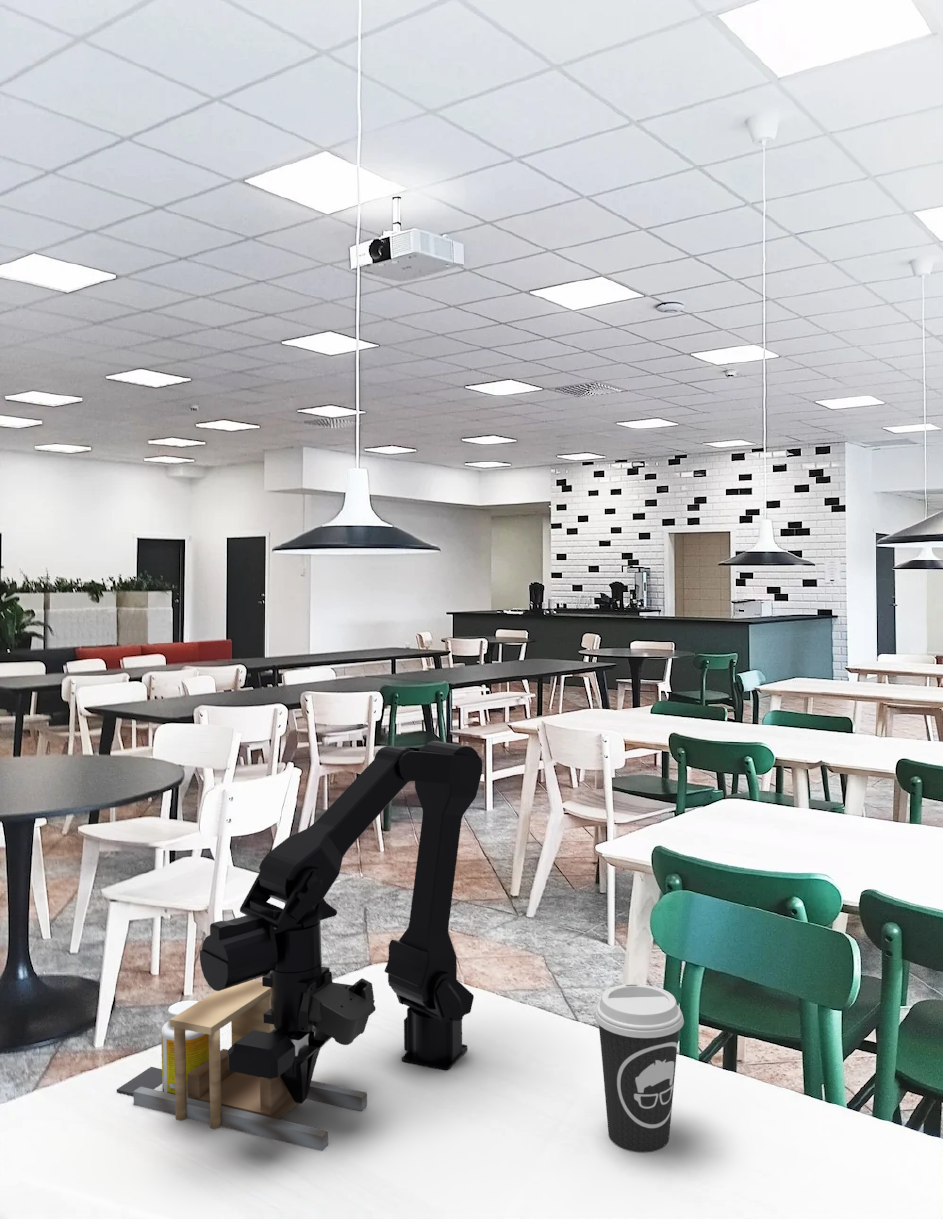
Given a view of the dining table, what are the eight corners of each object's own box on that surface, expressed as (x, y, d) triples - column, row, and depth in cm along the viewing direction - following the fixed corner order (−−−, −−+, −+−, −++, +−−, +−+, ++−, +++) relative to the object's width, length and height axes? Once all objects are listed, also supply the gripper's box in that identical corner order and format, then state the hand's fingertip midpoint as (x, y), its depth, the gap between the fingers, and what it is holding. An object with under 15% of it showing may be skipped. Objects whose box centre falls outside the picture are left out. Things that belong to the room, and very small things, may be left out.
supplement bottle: (219, 1094, 120) (218, 1008, 120) (174, 1110, 116) (172, 1021, 116) (199, 1076, 124) (197, 993, 124) (154, 1091, 121) (153, 1005, 120)
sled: (302, 1099, 118) (301, 1055, 118) (269, 1128, 112) (269, 1081, 112) (223, 1081, 122) (222, 1038, 122) (188, 1108, 116) (187, 1063, 116)
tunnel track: (372, 1102, 118) (371, 1001, 117) (315, 1159, 106) (313, 1048, 106) (195, 1063, 127) (193, 970, 127) (125, 1112, 116) (123, 1009, 116)
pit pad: (177, 1074, 125) (177, 1072, 125) (143, 1098, 119) (143, 1095, 119) (151, 1068, 126) (151, 1066, 126) (116, 1091, 121) (116, 1089, 121)
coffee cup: (689, 1120, 113) (689, 987, 113) (677, 1167, 104) (677, 1023, 104) (604, 1105, 117) (603, 976, 116) (585, 1150, 108) (585, 1010, 107)
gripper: (314, 1006, 102) (319, 1159, 103) (398, 942, 119) (402, 1074, 120) (222, 991, 106) (227, 1139, 107) (315, 932, 124) (319, 1060, 124)
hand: (300, 1101), depth 114 cm, fingers closed, pressing on sled
